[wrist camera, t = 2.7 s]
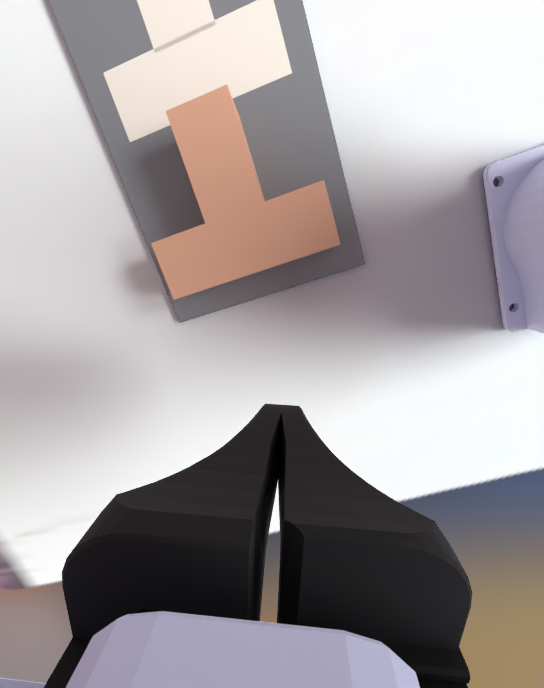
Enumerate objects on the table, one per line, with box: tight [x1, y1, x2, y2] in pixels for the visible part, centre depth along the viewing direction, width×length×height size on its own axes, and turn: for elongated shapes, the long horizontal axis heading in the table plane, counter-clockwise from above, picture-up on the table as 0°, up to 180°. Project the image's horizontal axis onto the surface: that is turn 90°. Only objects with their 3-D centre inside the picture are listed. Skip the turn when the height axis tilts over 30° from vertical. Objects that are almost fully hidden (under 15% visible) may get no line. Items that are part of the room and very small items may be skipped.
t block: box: [151, 85, 341, 300], centre depth 16 cm, size 8×9×3 cm
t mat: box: [49, 0, 365, 323], centre depth 17 cm, size 20×12×1 cm, turn 18°
